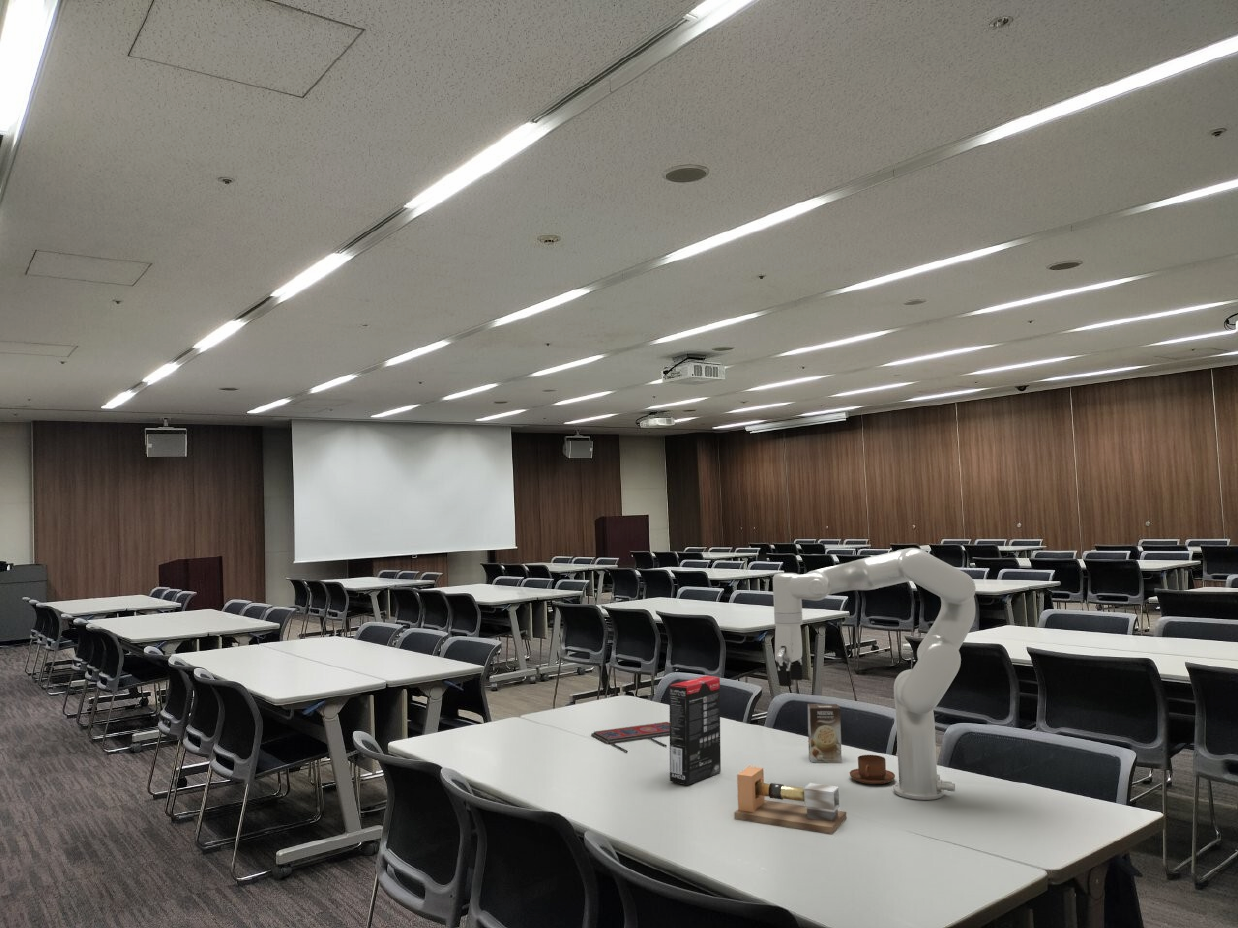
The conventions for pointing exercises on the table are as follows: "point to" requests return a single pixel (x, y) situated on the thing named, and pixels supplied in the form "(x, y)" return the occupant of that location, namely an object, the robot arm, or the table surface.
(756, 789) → the brass tube
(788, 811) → the rig
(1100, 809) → the table surface
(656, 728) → the sign
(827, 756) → the coffee box
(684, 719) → the graphics card box
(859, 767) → the cup and saucer
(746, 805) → the socket
